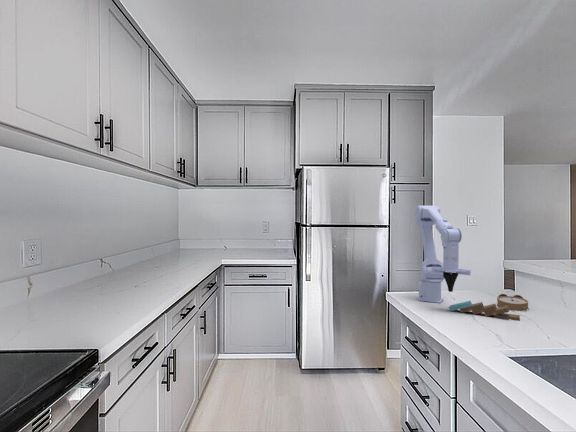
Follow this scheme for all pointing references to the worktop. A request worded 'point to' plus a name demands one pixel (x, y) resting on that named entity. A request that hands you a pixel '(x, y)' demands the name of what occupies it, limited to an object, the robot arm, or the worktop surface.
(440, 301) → the robot arm
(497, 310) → the domino
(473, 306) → the domino
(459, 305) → the teal domino
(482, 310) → the domino
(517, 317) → the domino
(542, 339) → the worktop surface
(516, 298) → the alarm clock
